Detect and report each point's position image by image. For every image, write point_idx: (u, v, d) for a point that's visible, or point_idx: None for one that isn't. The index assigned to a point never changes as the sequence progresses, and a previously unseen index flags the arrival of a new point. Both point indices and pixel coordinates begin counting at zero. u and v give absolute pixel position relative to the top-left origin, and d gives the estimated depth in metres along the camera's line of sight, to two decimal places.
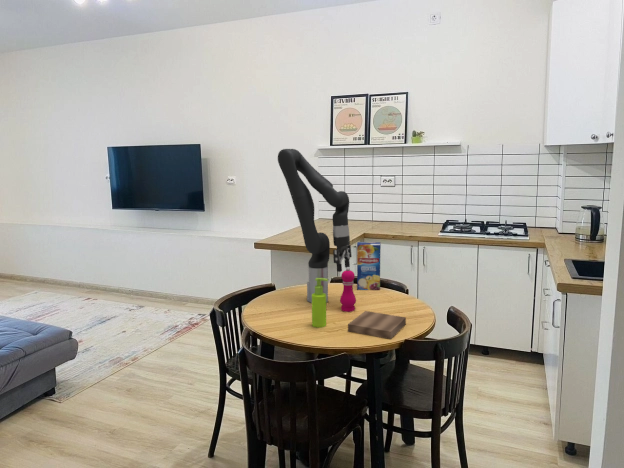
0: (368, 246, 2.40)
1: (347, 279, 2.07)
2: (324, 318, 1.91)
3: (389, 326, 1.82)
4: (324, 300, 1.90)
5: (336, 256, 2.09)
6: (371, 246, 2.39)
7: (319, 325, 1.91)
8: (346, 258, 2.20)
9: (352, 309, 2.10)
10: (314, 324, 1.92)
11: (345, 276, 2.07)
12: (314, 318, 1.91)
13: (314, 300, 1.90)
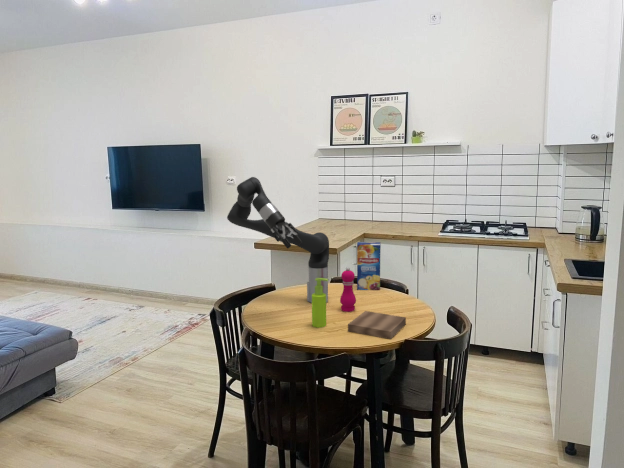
0: (368, 246, 2.40)
1: (347, 279, 2.07)
2: (324, 318, 1.91)
3: (389, 326, 1.82)
4: (324, 300, 1.90)
5: (275, 233, 1.90)
6: (371, 246, 2.39)
7: (319, 325, 1.91)
8: (293, 236, 1.99)
9: (352, 309, 2.10)
10: (314, 324, 1.92)
11: (345, 276, 2.07)
12: (314, 318, 1.91)
13: (314, 300, 1.90)
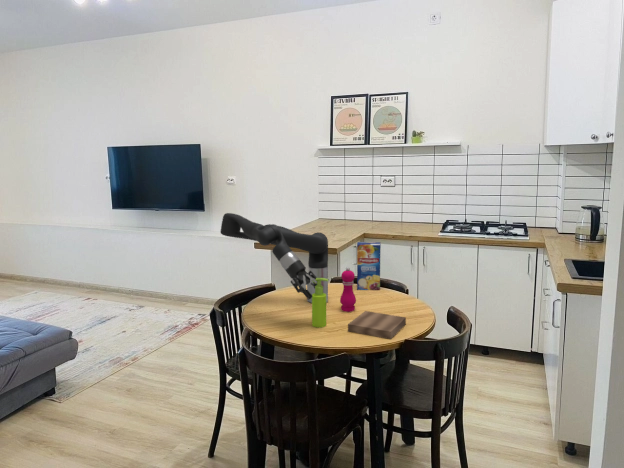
0: (368, 246, 2.40)
1: (347, 279, 2.07)
2: (324, 318, 1.91)
3: (389, 326, 1.82)
4: (324, 300, 1.90)
5: (296, 284, 1.87)
6: (371, 246, 2.39)
7: (319, 325, 1.91)
8: (314, 284, 1.96)
9: (352, 309, 2.10)
10: (314, 324, 1.92)
11: (345, 276, 2.07)
12: (314, 318, 1.91)
13: (314, 300, 1.90)
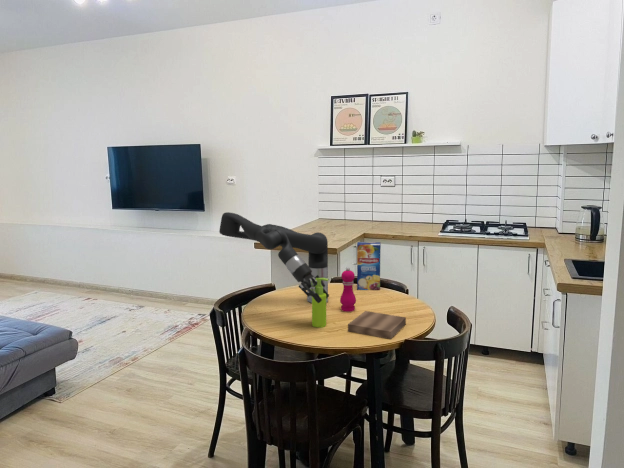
0: (368, 246, 2.40)
1: (347, 279, 2.07)
2: (324, 318, 1.91)
3: (389, 326, 1.82)
4: (324, 300, 1.90)
5: (305, 289, 1.87)
6: (371, 246, 2.39)
7: (319, 325, 1.91)
8: None
9: (352, 309, 2.10)
10: (314, 324, 1.92)
11: (345, 276, 2.07)
12: (314, 318, 1.91)
13: (314, 300, 1.90)
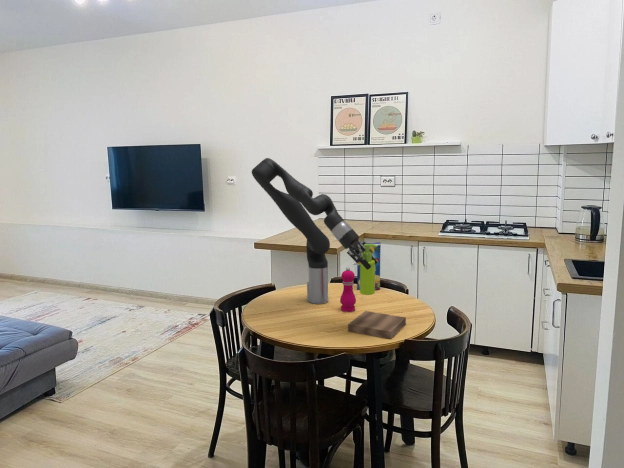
0: None
1: (347, 279, 2.07)
2: (373, 285, 1.85)
3: (389, 326, 1.82)
4: (373, 267, 1.84)
5: (354, 255, 1.81)
6: (371, 246, 2.39)
7: (368, 292, 1.85)
8: None
9: (352, 309, 2.10)
10: (362, 291, 1.86)
11: (345, 276, 2.07)
12: (362, 285, 1.85)
13: (363, 266, 1.84)
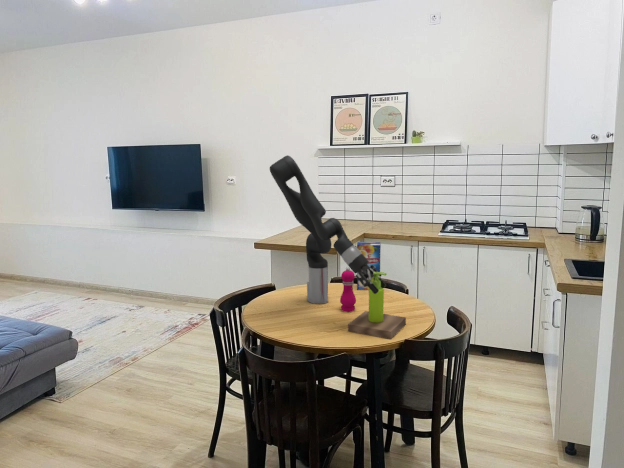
0: (368, 246, 2.40)
1: (347, 279, 2.07)
2: (382, 313, 1.88)
3: (389, 326, 1.82)
4: (382, 294, 1.87)
5: (362, 278, 1.82)
6: (371, 246, 2.39)
7: (377, 320, 1.87)
8: None
9: (352, 309, 2.10)
10: (371, 319, 1.88)
11: (345, 276, 2.07)
12: (371, 313, 1.87)
13: (372, 294, 1.86)
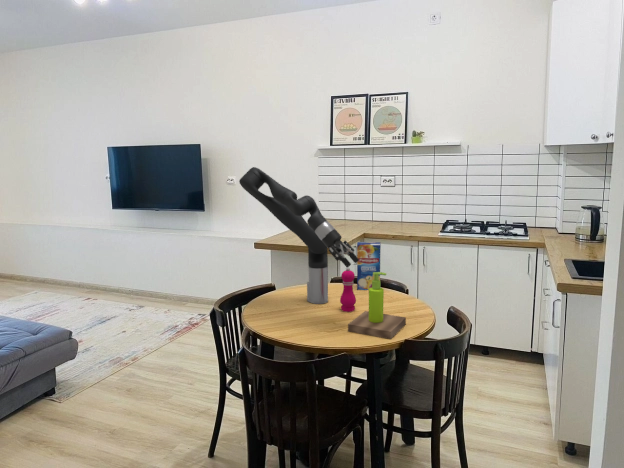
0: (368, 246, 2.40)
1: (347, 279, 2.07)
2: (382, 313, 1.88)
3: (389, 326, 1.82)
4: (382, 295, 1.86)
5: (334, 252, 1.87)
6: (371, 246, 2.39)
7: (377, 320, 1.87)
8: (350, 254, 1.96)
9: (352, 309, 2.10)
10: (371, 319, 1.88)
11: (345, 276, 2.07)
12: (371, 313, 1.87)
13: (372, 294, 1.86)
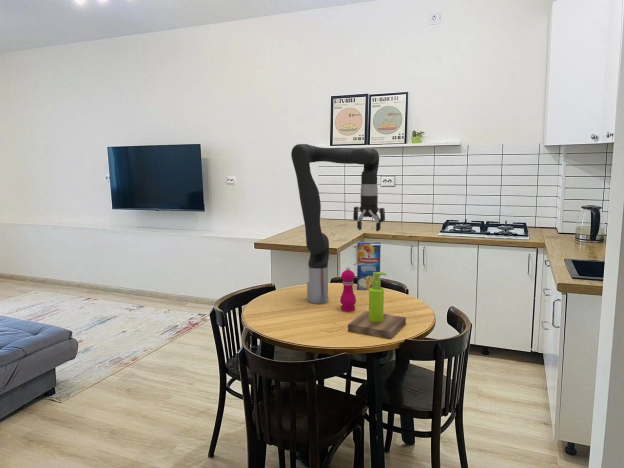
0: (368, 246, 2.40)
1: (347, 279, 2.07)
2: (382, 313, 1.88)
3: (389, 326, 1.82)
4: (382, 295, 1.86)
5: (384, 214, 2.05)
6: (371, 246, 2.39)
7: (377, 320, 1.87)
8: (360, 220, 2.11)
9: (352, 309, 2.10)
10: (371, 319, 1.88)
11: (345, 276, 2.07)
12: (371, 313, 1.87)
13: (372, 294, 1.86)
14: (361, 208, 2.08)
